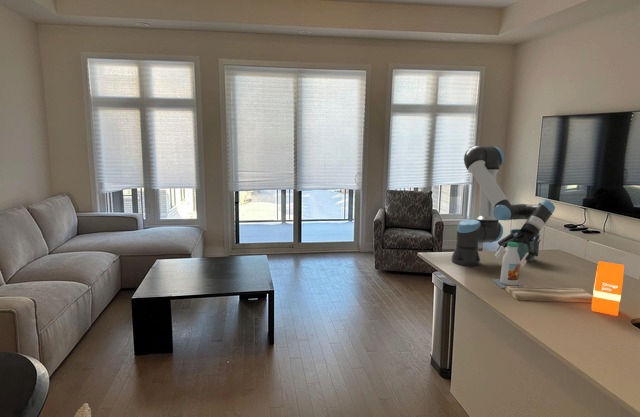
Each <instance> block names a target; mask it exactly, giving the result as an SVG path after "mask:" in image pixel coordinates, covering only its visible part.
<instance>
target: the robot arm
mask: <svg viewBox="0 0 640 417" xmlns="http://www.w3.org/2000/svg"><path fill="white" fill-rule="evenodd" d="M504 162H505V155H504V152H503V151H502V149H501V148H500V147H497V146H493V145H488V146H487V145H473V146H471V147H470V148H468V149H466V151H465V154H463V164H464V167H465V168H466V169H467V172H468V173H470V174H472V176H473V177H474V179H475V180H476V182H477V183H478V185H479V214H478V215H479V216H478V217H476V219H464V220H463V219H462V220H461V221H458V224H457V229H456V241H455V243H456V244H455V248H454V250H453V252H452V255H451V262H452V263H453V264H457V265H462V266H467V267H468V266H469V267H471V266H472V267H475V266H479V265H480V264H481V257H480V253H479V244H485V243H486V244H487V243H488V244H491V243H494V242H497V241H498V242H497V244H498V246H499V247H498V248H497V249H496V252H495V254H494V256H493V257H495V259H496V260H499V259H500V257H501V255H502V254H503V253H504V251H505V250H506V248H508V247H507V246H508V242H516V243H519V242H520V243H524V244H527V246H528V250H529V253H526V254H525V256H524V257H523V259H522V260H520V266H521V267H522V268H524V267H525V265H526V264H527V262H530V261H529V260H530V259H531V258H532V256H535V257H538V256H539V250H540V249H539V248H540V242H541V241H542V240H541V239H540V236H539V237H538V236H537V235H538V233H539V232H541V231H542V229H543V228H544V226H545V224H547V222H548V221H549V219H551V216H553V213H554V212H555V210H556V206H555V205H554V203H553V202H551V201H549V200H546V199H542V200H541V201H539V202H538V204H527V203H526V204H525V203H517V204H511V203H510V201H509V199H508V197H507V196H506V195H505V193H504V192H503V191H502V189H501V187H500V185H499V184H498V183H497V173H498V172H499V171H500V167H501V166H502V165H503V163H504ZM513 220H514V221H515V220H516V221H517V220H526V221H525V222H524V224H522V227H520V229H521V230H520V232H519V233H516V232H515V231H513V232H512V233H511V232H510V233H509V234H508V235H506V236H504V237H503V234H504V227H503V226H502V223H501V222H499V221H513ZM536 236H537V237H536ZM502 237H503V238H502ZM501 238H502V239H501ZM516 239H518V240H516ZM533 240H534V251H533V250H532V246H531V241H533Z"/></svg>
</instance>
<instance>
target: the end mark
mask: <svg viewBox="0 0 640 417" xmlns="http://www.w3.org/2000/svg"><path fill="white" fill-rule="evenodd" d="M491 281H492V282H493V283H494V284H496V285H497V286H498V287H499V288H500V289H504V290H505V288H506V286H509V285H504V284H502V283H501V282H500V278H499V279H498V278H497V279H496V278H495V279H494V278H491ZM516 286H524V287H526V286H525V285H523V284H522V283H520V281H518V284H517V285H516Z"/></svg>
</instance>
